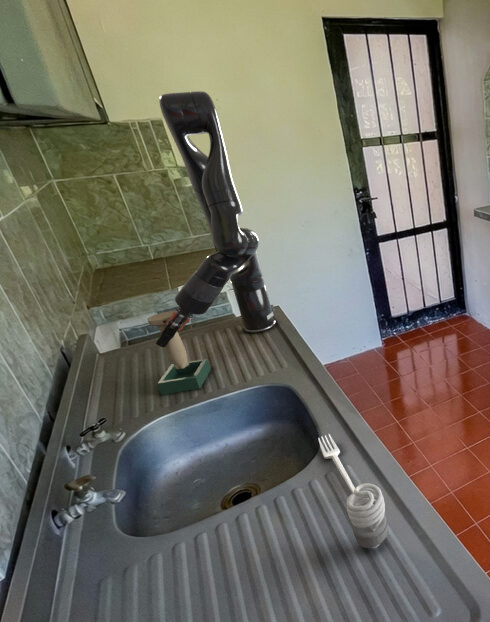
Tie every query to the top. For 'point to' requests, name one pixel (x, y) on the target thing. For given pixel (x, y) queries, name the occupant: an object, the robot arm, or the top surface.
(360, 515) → the light bulb
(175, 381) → the socket
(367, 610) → the top surface
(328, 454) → the fork
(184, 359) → the handle
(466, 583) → the top surface
